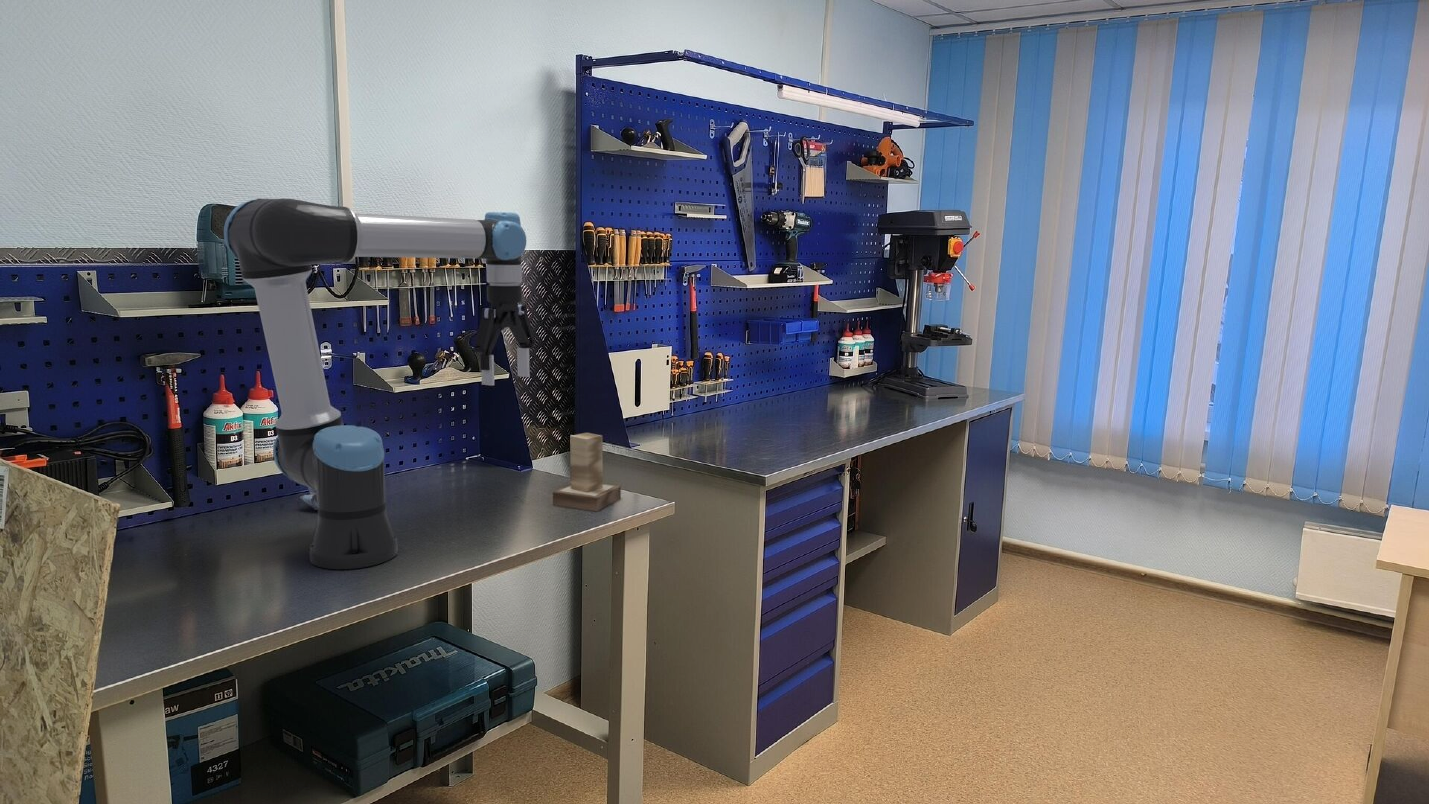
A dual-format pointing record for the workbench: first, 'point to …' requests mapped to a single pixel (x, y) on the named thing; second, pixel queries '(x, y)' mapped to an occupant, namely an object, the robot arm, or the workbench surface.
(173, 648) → the workbench surface
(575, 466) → the oak block
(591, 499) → the plinth
